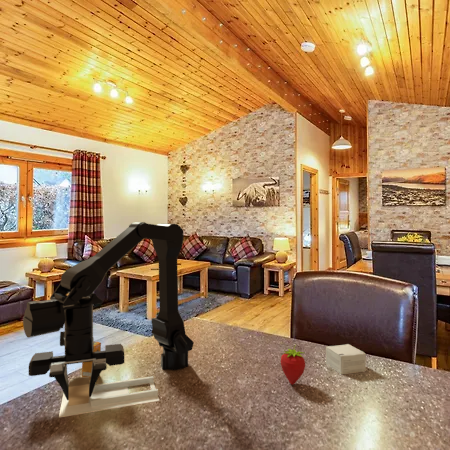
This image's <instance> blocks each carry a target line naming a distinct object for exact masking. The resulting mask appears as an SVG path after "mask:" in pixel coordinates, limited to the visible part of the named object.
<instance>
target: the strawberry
mask: <svg viewBox="0 0 450 450" xmlns="http://www.w3.org/2000/svg"><path fill="white" fill-rule="evenodd" d="M296 345H297V344H295V346H294V347H293V349H291V348H287V350H284V351H283V352H284V353H283V354H282V355H281V357H280V365H281V369H282V371H283V374H284V376H285V378H286V379H287V381H288V382H289V384H290V385H292V386H293V385H295V384H296V383H297V381H298V380H300V378H301V376H302V375H304V372H305V369H306V361H305V358H304V357H303V355H302V354H304V352H303V351H297V350H296V349H295V347H296Z"/></svg>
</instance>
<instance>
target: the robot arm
mask: <svg viewBox="0 0 450 450" xmlns="http://www.w3.org/2000/svg"><path fill="white" fill-rule="evenodd" d="M184 237H185V234H184V229H183V228H182V227H181V226H180V225H179V224H177V223H157V224H153V223H148V222H145V221H134V222H132V223H130V224H129V225H128V227H127V228H126V229H124V231H122V232H121V233H120V234H118V235H116V237H115V238H114V239H112V240H111V241H110V242H109V243H107V245H105V246H104V247H102V249H100V250H98V252H97V253H96V254H94V255H93V256H91V257H90V258H87V259H85V260H83V261H81V262H78V263H77V264H74V265H73V266H71V267H70V268H68V269H66V270H65V271H64V272H63V273H62V274H61V276H60V277H61V278H60V282H59V285H58V286H57V287H56V288H55V290H54V292H53V293H52V294H51V296H50V297H49V299H46V300H39V301H35V300H34V301H27V303H26V309H25V310H24V313H23V317H22V325H23V332H24V335H25V336H26V338H33V337H37V336H38V337H39V336H42V335H47V334H52V333H58V332H59V333H60V334H59V346H60V347H64V355H57V356H56V355H55V356H54V351H44V352H43V351H42V352H35V353H34V354H33V356H32V357H31V359H30V361H29V363H28V376H29V377H35V376H42V375H46V374H47V373H48V372H49V374H48V377H49V378H54V379H55V381H56V382H57V383H58V385H59V387H60V388H61V390H62V392H63V393H64V395H65V397H66V399H67V400H69V383H70V381H69V378H68V365H75V364H82V363H83V362H91V361H93V362H92V370H91V378H90V383H89V397H91V395H92V392H93V389H94V386H95V384H96V383H97V381H98V379H99V377H100V376H99V375H101V373H102V371H106V370H107V368H108V367H107V366H110V367H111V366H118V365H120V366H121V365H123V364H125V349H124V346H123V344H122V343H115V344H105V347H104V348H105V350H101V351H97V352H93V349H94V340H95V339H94V305H98V304H99V305H100V304H103V299H101V298H100V297H99V296H98V295H97V294H96V292H95V291H96V290H97V289H98V287H99V286H100V285H101V284H102V282H103V281H104V278H105V276H106V274H107V273H108V271H109V270H111V268H113V267H114V266H115V265H117V263H118V262H119V261H121V260H122V258H124V257H125V256H126V255H127V254H128V253H130V252H131V251H132V250H133V249H135V247H136V246H137V245H138V244H139V243H141V242H142V241H143V240H144V239H146V240H151V241H152V247H153V249H154V252H155V253H156V255H157V259H158V292H159V293H158V298H159V299H158V300H159V312H158V313H157V316H156V317H155V318H154V317H153V318H151V332H150V333H151V334H152V335H153V338H154V339H155V340H156V341H157V343H158V346H159V347H161V348H162V353H161V354H160V367H161V370H165V371H167V370H169V371H179V370H183V369H185V368H188V367H189V352H190V351H192V350H193V346H194V344H195V343H194V340H192V339H191V337H189V336H188V335H187V334H186V327H185V322H184V320H183V317H182V315H181V314H180V311H179V283H178V280H179V278H178V277H179V276H178V257H179V254H180V253H181V251H182V249H183V243H184ZM61 329H64V331H60V330H61Z"/></svg>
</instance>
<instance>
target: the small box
mask: <svg viewBox="0 0 450 450" xmlns="http://www.w3.org/2000/svg"><path fill="white" fill-rule="evenodd" d="M366 354H367V353H365V352H364V351H363V350H360V349H358V348H356V347H355V346H352V345H351V344H349V343H346V344H340V345H329V346H328V345H327V346H325V365H327V366H329V367H330V368H331V369H333V370H335V372H337V373H338V374H340V375H347V374H355V373H356V374H357V373H364V372H366V369H367V366H366V365H367V364H366V363H367V362H366V360H367V355H366Z"/></svg>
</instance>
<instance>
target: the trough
mask: <svg viewBox="0 0 450 450" xmlns="http://www.w3.org/2000/svg"><path fill="white" fill-rule="evenodd" d="M154 381H155V380H154V376H153V375H151V376H145V377H139V378H132V379H123V380H118V381H111V382H110V381H109V382H104V383H97V384H95V386H94V389H93V392H92V395H91V397H89V403H84V404H78V405H71V406H68V404H69V400H67V399H66V397H65V395H64V392H63V394H62V398H61V405H60V408H59V415H58V418H65V417H71V416H77V415H83V414H89V413H94V412H101V411H107V410H113V409H114V410H115V409H118V408H125V407H131V406H134V405H135V406H136V405H142V404H147V403H148V404H149V403H155V402H160V398H159V389H158V388H156V386H155V383H154ZM147 384H149V387H150V389H149V390H148V389H146V390H142V391H134V392H130V391H129V387H134V386H140V385H147Z"/></svg>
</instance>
